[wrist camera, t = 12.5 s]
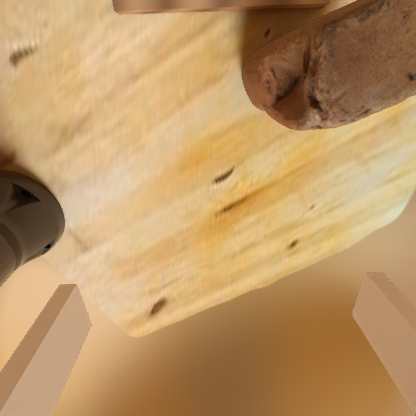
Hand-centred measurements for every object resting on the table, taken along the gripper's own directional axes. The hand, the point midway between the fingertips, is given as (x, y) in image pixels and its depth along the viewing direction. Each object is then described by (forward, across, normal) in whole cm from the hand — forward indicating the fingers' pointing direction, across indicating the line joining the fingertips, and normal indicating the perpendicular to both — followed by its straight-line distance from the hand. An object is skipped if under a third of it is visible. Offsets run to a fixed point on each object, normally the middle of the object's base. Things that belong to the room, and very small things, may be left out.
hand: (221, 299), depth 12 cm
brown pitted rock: (+29, +10, +10) cm, 32 cm away
